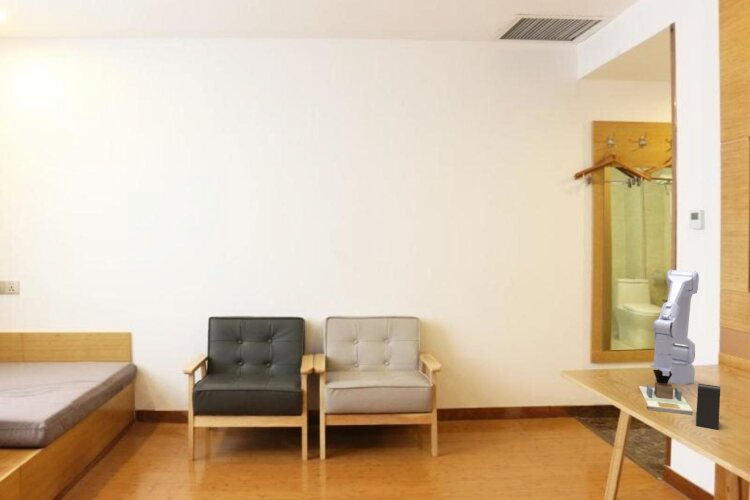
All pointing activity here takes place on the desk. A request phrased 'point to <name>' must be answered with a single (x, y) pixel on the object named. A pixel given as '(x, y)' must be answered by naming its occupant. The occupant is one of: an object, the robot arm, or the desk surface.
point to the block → (663, 390)
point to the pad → (666, 401)
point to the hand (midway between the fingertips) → (661, 391)
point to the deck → (677, 396)
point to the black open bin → (708, 406)
